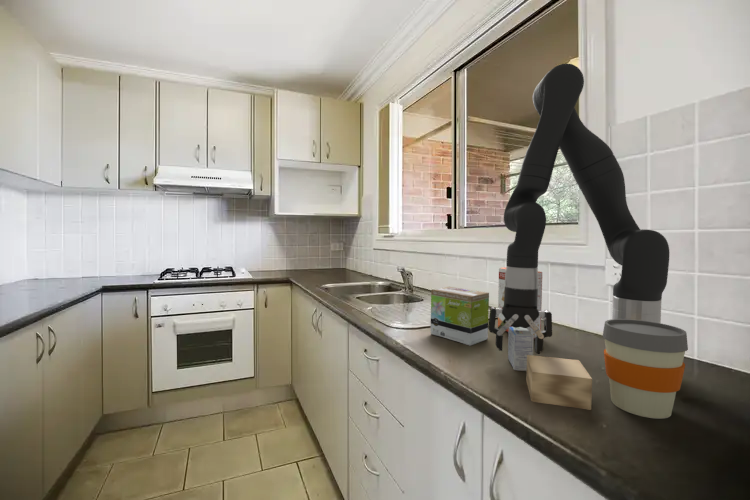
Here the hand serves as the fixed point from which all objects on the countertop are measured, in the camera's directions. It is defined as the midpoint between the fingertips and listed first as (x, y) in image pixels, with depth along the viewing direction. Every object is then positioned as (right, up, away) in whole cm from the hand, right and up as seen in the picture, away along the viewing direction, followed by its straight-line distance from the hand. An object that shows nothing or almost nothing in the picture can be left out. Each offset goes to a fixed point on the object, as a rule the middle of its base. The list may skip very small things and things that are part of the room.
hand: (518, 351), depth 86 cm
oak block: (+1, -4, -16) cm, 16 cm away
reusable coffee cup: (+14, -5, -20) cm, 25 cm away
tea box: (-9, -3, +23) cm, 25 cm away
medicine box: (0, -4, 0) cm, 4 cm away
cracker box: (+11, -2, +28) cm, 30 cm away
